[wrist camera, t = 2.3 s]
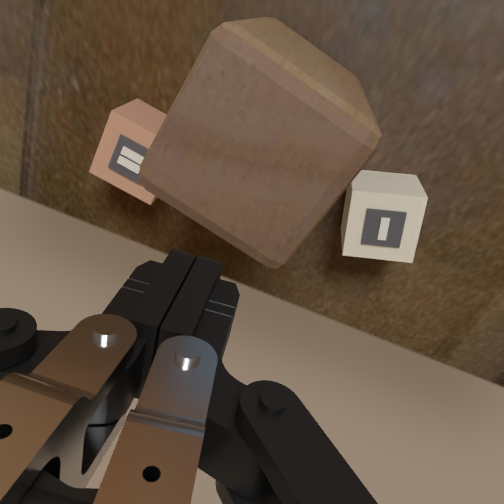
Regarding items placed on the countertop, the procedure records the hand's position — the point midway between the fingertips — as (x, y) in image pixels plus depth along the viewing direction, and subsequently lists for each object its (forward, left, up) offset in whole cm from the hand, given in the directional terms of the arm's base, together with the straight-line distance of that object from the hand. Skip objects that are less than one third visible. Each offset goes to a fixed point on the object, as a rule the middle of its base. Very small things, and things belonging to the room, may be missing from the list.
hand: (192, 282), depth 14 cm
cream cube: (-11, +7, -32) cm, 35 cm away
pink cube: (+11, +7, -32) cm, 35 cm away
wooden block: (0, 0, -32) cm, 32 cm away
